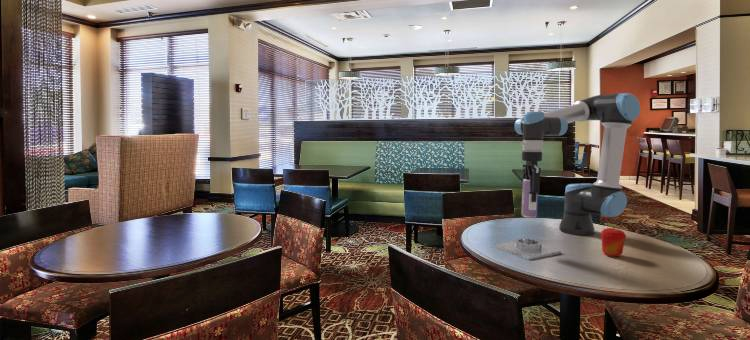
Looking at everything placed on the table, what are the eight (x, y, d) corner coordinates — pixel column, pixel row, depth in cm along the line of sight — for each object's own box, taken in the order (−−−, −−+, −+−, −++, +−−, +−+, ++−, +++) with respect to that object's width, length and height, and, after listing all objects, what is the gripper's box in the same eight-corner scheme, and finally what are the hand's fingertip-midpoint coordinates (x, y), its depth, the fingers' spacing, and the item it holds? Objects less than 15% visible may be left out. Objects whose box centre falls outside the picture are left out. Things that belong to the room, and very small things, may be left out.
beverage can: (539, 218, 163) (540, 180, 161) (523, 217, 164) (525, 180, 162) (534, 214, 169) (536, 178, 167) (519, 214, 169) (521, 178, 168)
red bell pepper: (629, 259, 157) (631, 228, 156) (606, 258, 158) (608, 228, 156) (616, 252, 166) (618, 223, 164) (595, 251, 166) (597, 223, 165)
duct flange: (527, 241, 180) (527, 233, 180) (561, 253, 164) (562, 244, 163) (495, 247, 172) (495, 238, 172) (528, 259, 156) (528, 250, 156)
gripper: (515, 149, 173) (512, 203, 175) (531, 152, 154) (528, 213, 157) (533, 149, 173) (530, 203, 175) (551, 152, 154) (548, 213, 156)
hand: (529, 208), depth 166 cm, fingers closed on beverage can, 6 cm apart
